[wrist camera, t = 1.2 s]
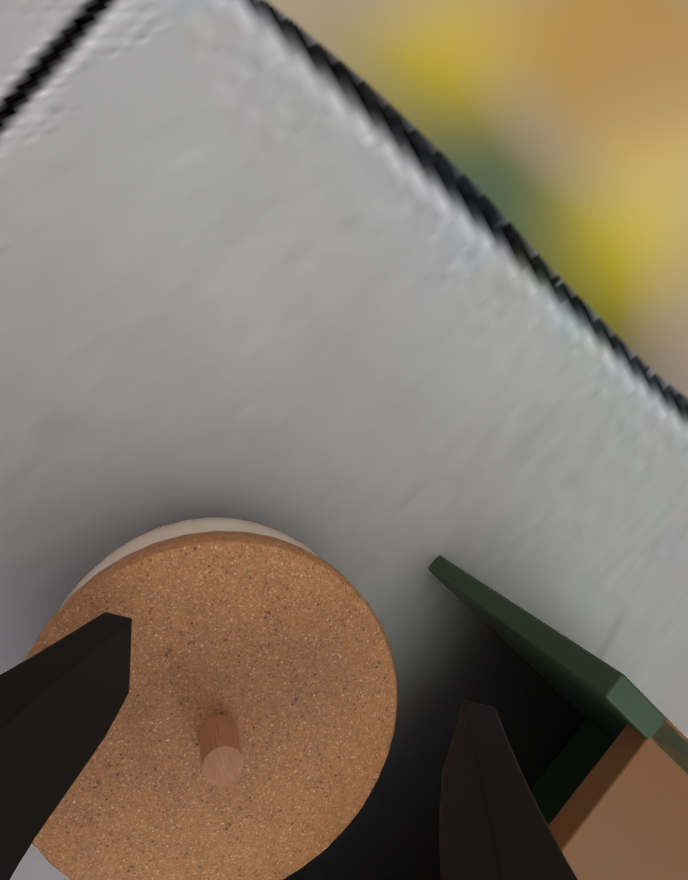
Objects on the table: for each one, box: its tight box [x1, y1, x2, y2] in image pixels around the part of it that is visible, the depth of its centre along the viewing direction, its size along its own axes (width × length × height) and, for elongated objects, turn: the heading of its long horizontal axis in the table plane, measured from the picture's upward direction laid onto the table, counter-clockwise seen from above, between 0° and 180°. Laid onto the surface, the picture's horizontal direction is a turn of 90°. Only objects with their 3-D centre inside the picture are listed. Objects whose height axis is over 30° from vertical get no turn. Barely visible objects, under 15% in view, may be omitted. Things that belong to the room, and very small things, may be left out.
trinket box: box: [25, 517, 398, 880], centre depth 19 cm, size 11×11×9 cm
